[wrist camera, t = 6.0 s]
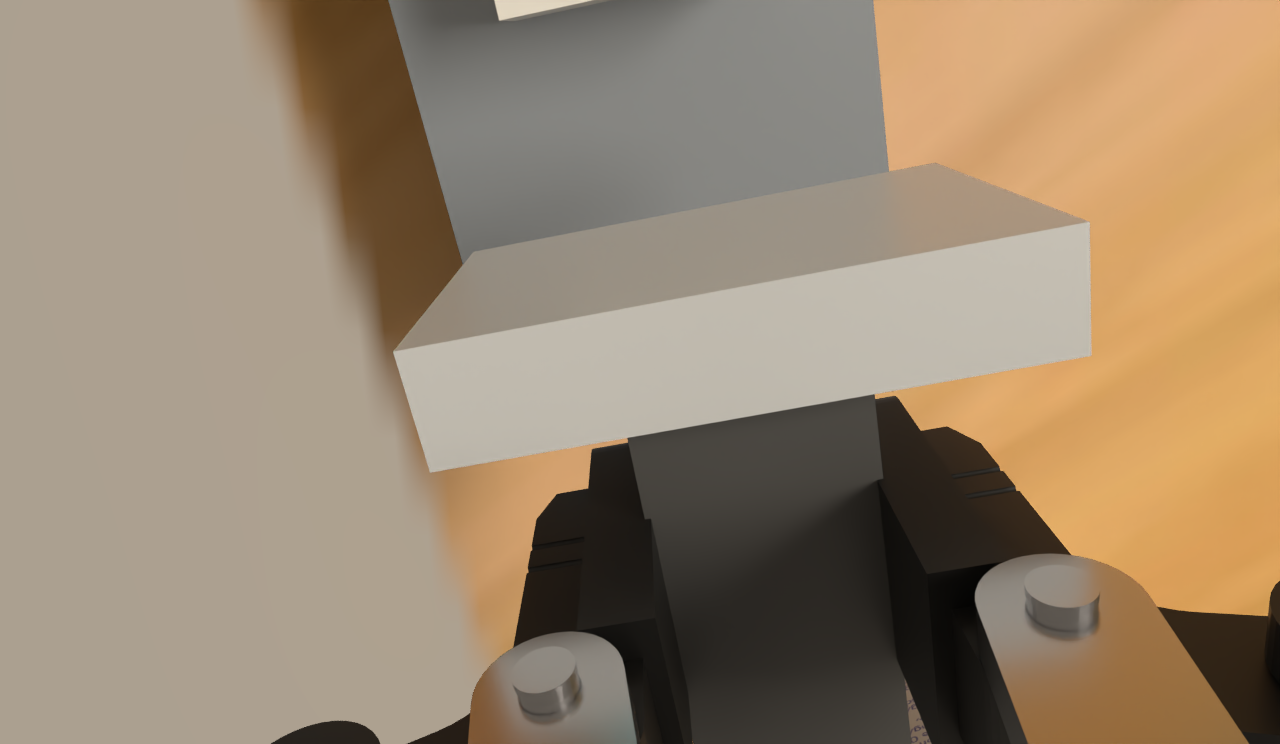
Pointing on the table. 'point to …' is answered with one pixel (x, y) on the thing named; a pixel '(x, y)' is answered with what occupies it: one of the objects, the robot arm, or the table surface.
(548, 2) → the tile
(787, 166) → the platform
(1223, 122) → the table surface
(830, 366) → the scraper
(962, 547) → the robot arm
